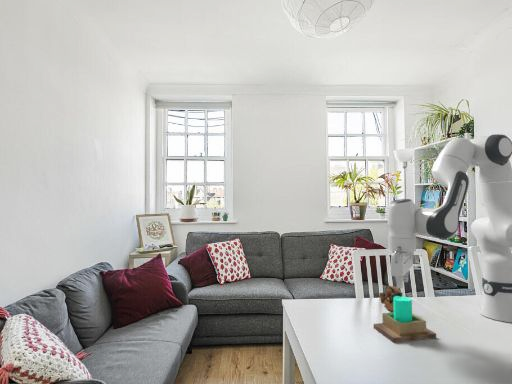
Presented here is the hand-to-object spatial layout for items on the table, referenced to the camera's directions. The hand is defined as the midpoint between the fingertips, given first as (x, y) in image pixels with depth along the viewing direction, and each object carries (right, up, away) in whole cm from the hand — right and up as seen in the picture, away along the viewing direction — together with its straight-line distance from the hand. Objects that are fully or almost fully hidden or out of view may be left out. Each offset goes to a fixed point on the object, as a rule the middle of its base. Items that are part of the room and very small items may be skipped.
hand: (402, 284), depth 113 cm
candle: (0, -16, 0) cm, 16 cm away
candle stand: (0, -17, 0) cm, 17 cm away
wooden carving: (+5, -17, +22) cm, 29 cm away
